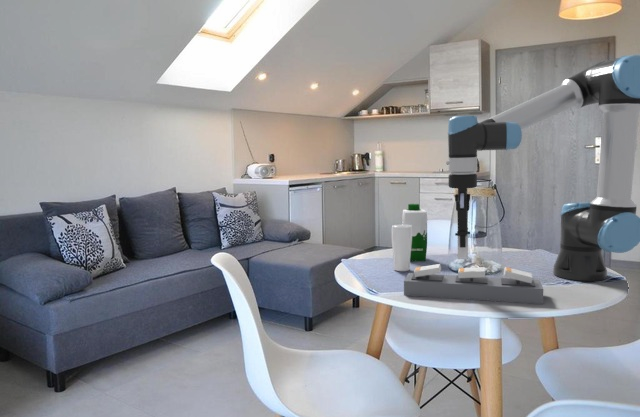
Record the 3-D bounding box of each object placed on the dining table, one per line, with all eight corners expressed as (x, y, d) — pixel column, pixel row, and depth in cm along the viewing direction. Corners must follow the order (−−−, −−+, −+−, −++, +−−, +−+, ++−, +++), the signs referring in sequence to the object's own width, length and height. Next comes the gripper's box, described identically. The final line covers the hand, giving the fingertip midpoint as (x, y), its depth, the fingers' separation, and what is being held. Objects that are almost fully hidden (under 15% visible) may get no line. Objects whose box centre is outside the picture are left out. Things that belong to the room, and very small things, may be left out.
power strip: (539, 293, 148) (539, 276, 148) (542, 304, 139) (543, 285, 138) (408, 286, 159) (408, 269, 158) (403, 295, 149) (403, 277, 149)
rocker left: (441, 269, 153) (440, 263, 153) (439, 273, 148) (438, 267, 148) (417, 272, 155) (415, 267, 155) (415, 277, 150) (413, 271, 150)
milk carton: (424, 256, 200) (424, 203, 198) (428, 261, 191) (428, 206, 189) (401, 256, 200) (401, 203, 198) (403, 262, 192) (403, 206, 189)
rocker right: (529, 278, 146) (531, 272, 146) (531, 283, 142) (533, 277, 141) (503, 272, 148) (505, 266, 148) (504, 276, 143) (505, 270, 143)
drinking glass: (387, 270, 180) (387, 225, 178) (400, 266, 184) (400, 223, 182) (402, 273, 175) (402, 228, 173) (416, 270, 179) (416, 225, 177)
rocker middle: (485, 272, 150) (484, 266, 149) (485, 277, 145) (484, 270, 145) (459, 273, 152) (458, 267, 152) (458, 278, 147) (458, 271, 147)
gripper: (449, 172, 153) (450, 253, 156) (446, 174, 141) (447, 262, 143) (477, 171, 151) (477, 253, 154) (476, 174, 139) (476, 263, 141)
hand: (462, 258), depth 149 cm, fingers closed
